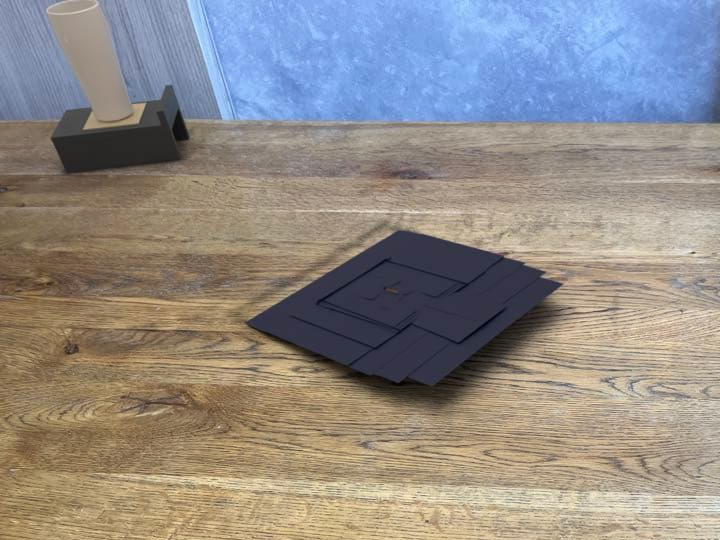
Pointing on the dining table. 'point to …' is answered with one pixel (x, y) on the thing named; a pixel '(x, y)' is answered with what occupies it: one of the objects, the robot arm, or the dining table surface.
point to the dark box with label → (121, 136)
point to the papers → (408, 307)
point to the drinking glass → (91, 56)
